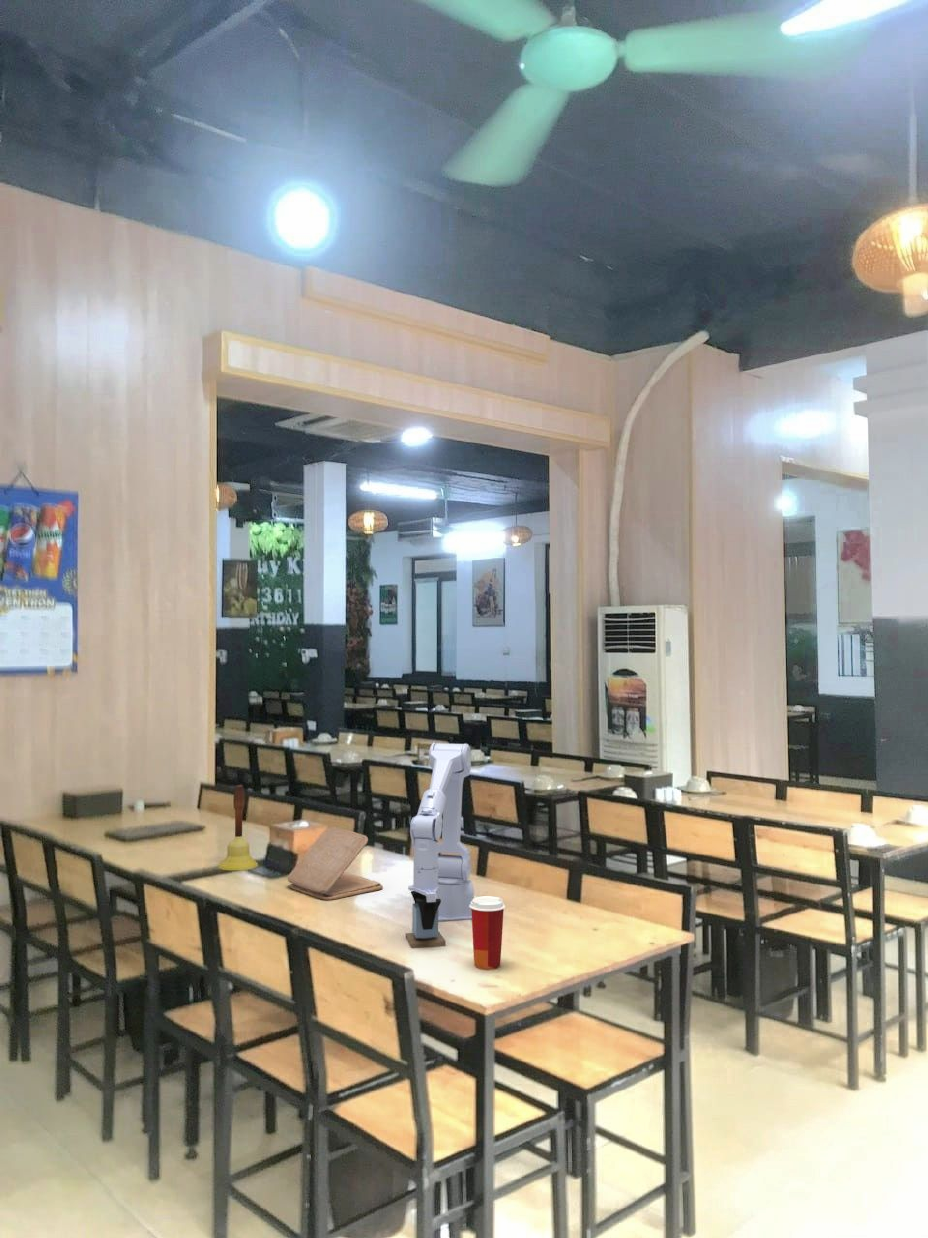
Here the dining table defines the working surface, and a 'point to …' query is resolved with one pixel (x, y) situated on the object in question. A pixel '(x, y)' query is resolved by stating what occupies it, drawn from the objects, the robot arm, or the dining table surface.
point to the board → (425, 941)
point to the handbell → (238, 840)
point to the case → (332, 867)
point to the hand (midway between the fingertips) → (425, 925)
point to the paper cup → (487, 931)
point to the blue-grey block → (417, 924)
